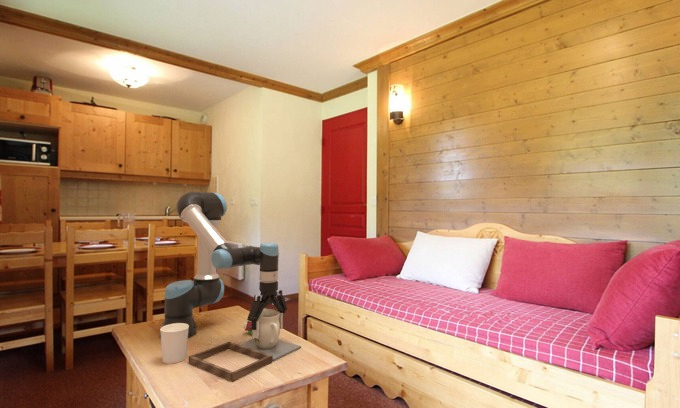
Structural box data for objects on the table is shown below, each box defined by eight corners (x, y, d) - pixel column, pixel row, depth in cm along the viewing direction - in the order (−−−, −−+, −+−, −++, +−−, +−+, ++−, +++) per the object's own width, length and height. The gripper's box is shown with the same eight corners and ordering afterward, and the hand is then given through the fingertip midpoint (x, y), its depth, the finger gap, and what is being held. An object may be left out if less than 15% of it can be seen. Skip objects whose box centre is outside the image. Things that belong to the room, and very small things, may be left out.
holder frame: (188, 363, 131) (188, 356, 131) (229, 347, 146) (229, 341, 146) (232, 381, 117) (232, 374, 118) (272, 362, 133) (272, 355, 133)
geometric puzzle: (258, 324, 169) (249, 313, 166) (266, 328, 164) (257, 316, 161) (247, 336, 165) (238, 325, 162) (255, 340, 160) (246, 329, 157)
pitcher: (263, 356, 136) (264, 320, 136) (246, 342, 150) (246, 309, 150) (289, 350, 142) (290, 315, 142) (270, 337, 157) (270, 305, 157)
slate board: (234, 348, 146) (234, 346, 146) (263, 336, 159) (263, 335, 159) (273, 361, 134) (273, 359, 134) (301, 348, 147) (301, 346, 147)
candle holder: (159, 366, 128) (160, 333, 128) (159, 356, 137) (160, 325, 137) (189, 361, 133) (189, 329, 133) (187, 352, 141) (187, 321, 142)
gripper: (252, 287, 134) (251, 344, 134) (295, 277, 155) (295, 326, 155) (238, 284, 138) (237, 339, 138) (282, 275, 159) (282, 323, 159)
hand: (267, 332), depth 146 cm, fingers open, 13 cm apart
